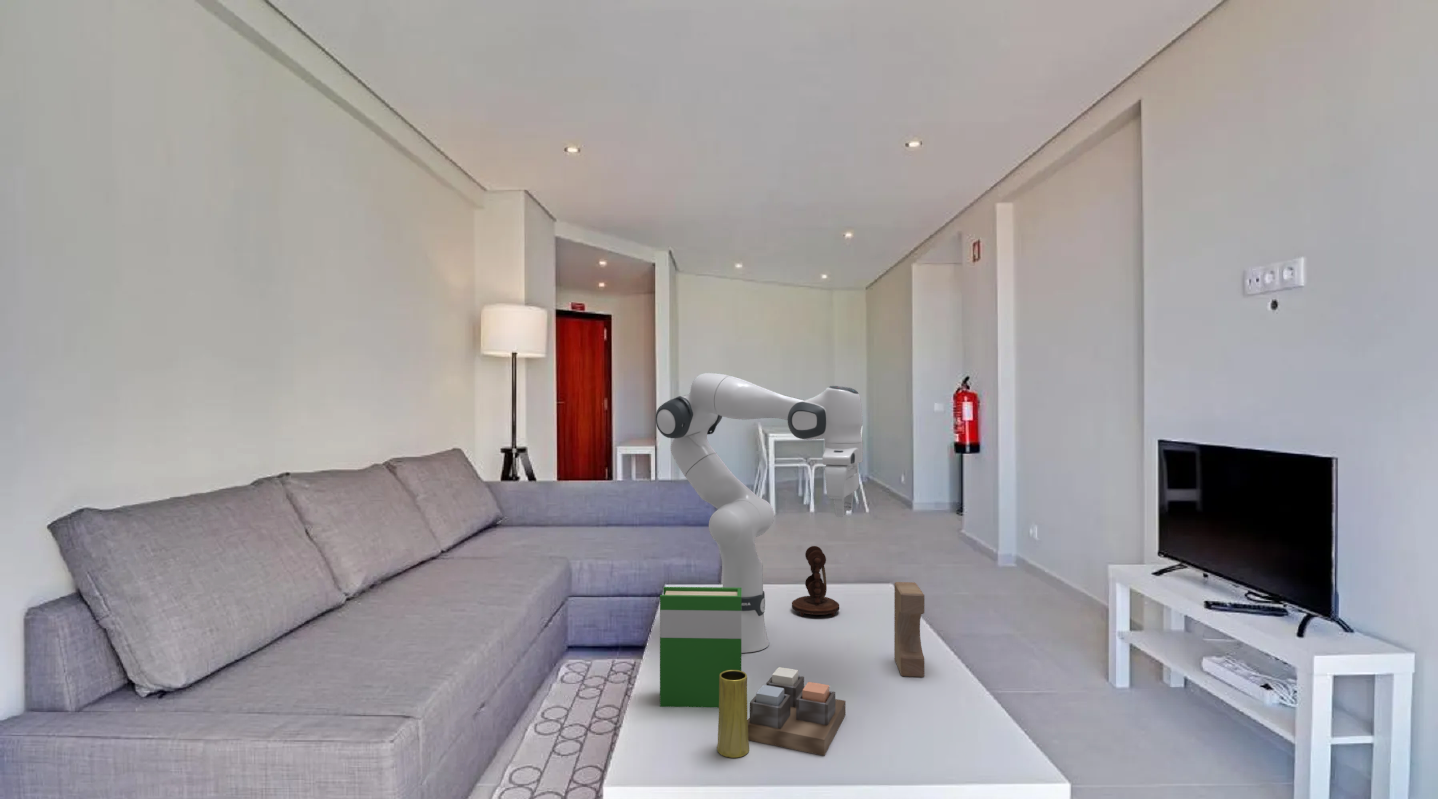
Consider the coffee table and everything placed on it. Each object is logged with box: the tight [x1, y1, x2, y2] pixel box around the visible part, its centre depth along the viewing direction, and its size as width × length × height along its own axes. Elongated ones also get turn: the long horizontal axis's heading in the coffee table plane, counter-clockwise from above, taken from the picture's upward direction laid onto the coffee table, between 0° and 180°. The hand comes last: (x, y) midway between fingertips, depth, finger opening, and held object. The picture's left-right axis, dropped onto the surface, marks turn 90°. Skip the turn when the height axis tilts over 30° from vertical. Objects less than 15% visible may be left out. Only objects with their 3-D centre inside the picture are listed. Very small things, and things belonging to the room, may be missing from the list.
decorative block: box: [893, 581, 925, 678], centre depth 170 cm, size 11×6×20 cm, turn 173°
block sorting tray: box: [747, 675, 847, 757], centre depth 140 cm, size 16×18×7 cm
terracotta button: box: [802, 681, 830, 703], centre depth 138 cm, size 4×4×3 cm
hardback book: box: [659, 586, 742, 709], centre depth 152 cm, size 18×7×24 cm, turn 88°
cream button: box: [771, 666, 799, 687], centre depth 146 cm, size 4×4×3 cm
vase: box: [716, 670, 750, 759], centre depth 131 cm, size 6×6×14 cm
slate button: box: [755, 684, 784, 706], centre depth 137 cm, size 4×4×3 cm
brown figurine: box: [791, 545, 840, 618], centre depth 215 cm, size 15×15×20 cm
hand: (844, 513), depth 162 cm, fingers open, 8 cm apart
